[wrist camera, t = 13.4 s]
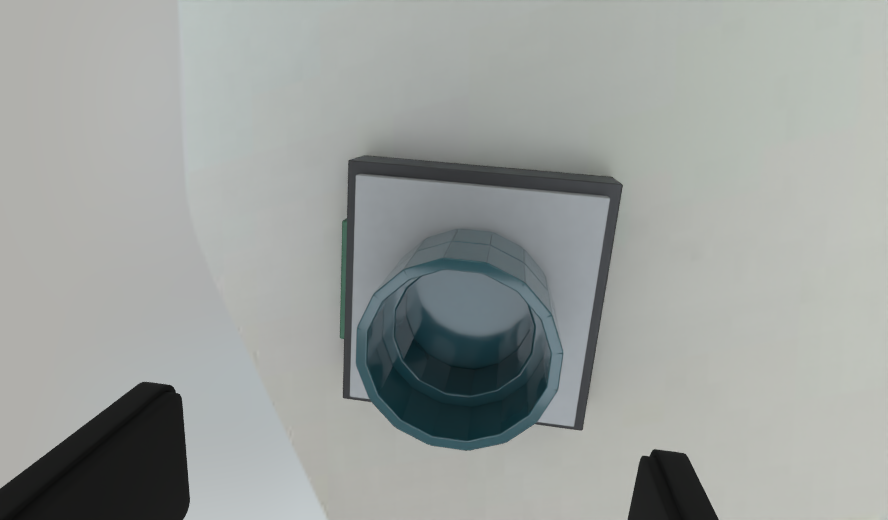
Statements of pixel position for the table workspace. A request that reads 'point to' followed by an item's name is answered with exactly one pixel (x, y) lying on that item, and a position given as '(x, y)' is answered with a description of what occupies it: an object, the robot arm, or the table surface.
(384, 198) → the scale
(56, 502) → the robot arm
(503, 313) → the teal cup
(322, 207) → the table surface
